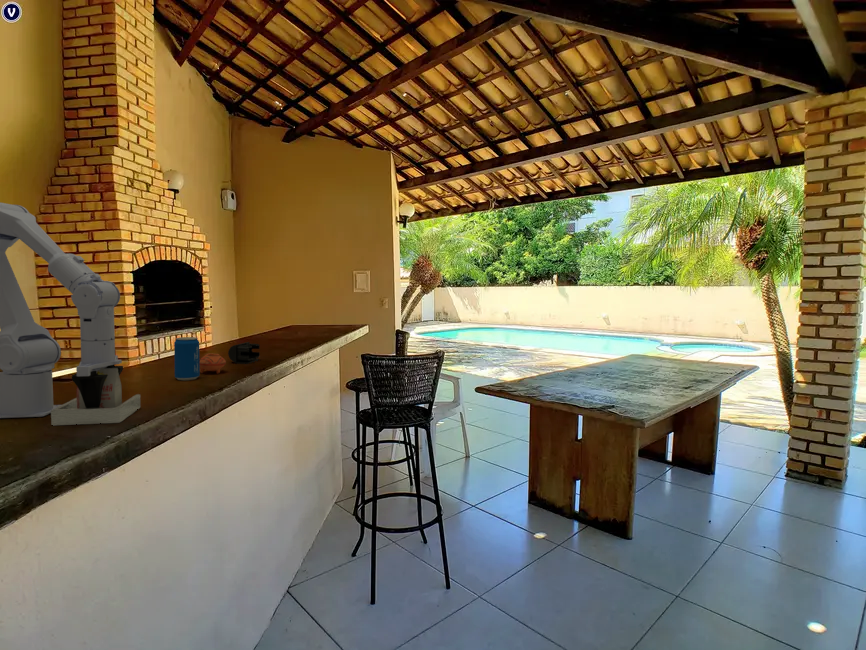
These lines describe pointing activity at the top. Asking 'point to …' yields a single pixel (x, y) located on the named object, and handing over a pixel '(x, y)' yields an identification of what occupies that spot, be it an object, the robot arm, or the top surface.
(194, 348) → the beverage can
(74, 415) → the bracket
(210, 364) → the pot
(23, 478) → the top surface
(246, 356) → the end cap
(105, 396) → the tea bag
